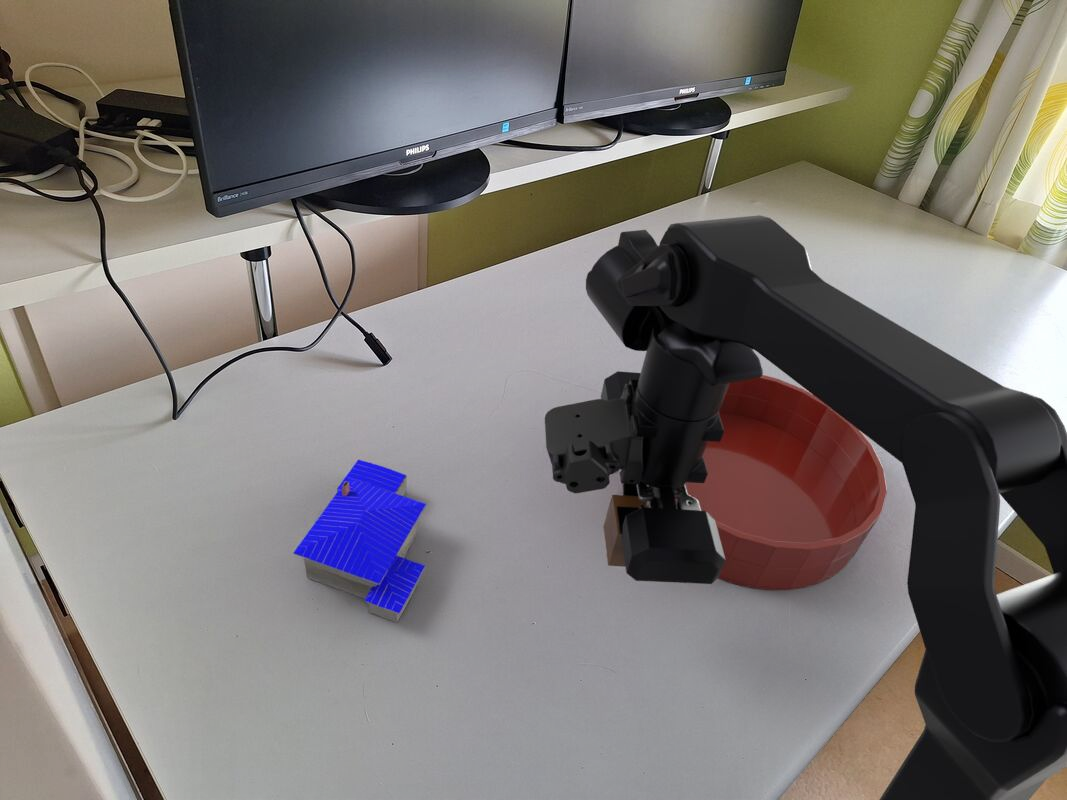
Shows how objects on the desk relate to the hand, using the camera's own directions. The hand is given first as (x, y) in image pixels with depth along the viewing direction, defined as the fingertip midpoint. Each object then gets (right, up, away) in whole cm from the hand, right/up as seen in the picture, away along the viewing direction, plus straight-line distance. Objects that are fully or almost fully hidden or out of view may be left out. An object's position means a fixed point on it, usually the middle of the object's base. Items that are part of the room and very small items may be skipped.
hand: (633, 538), depth 61 cm
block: (0, -1, +1) cm, 1 cm away
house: (-24, -3, +9) cm, 26 cm away
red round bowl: (+14, +1, +21) cm, 25 cm away
